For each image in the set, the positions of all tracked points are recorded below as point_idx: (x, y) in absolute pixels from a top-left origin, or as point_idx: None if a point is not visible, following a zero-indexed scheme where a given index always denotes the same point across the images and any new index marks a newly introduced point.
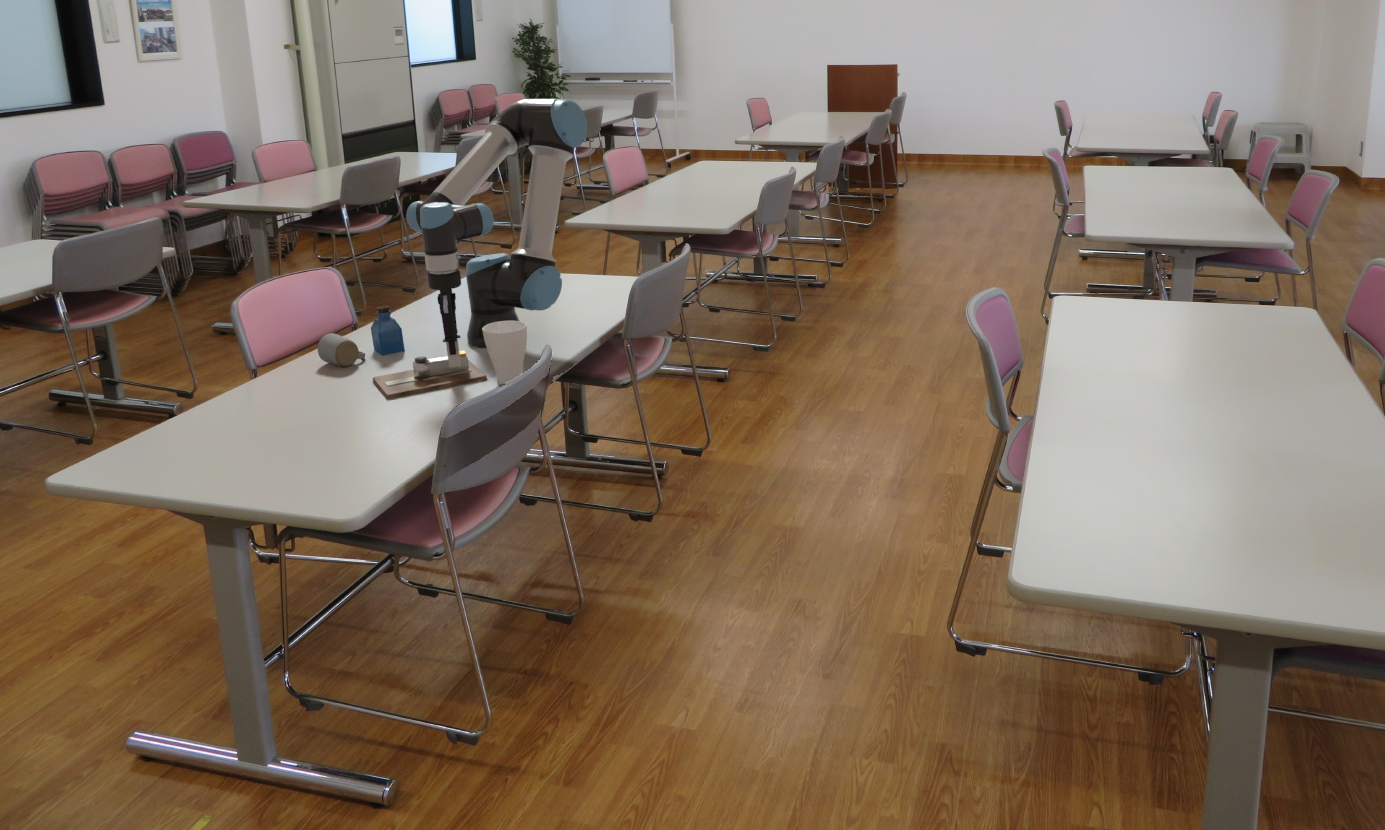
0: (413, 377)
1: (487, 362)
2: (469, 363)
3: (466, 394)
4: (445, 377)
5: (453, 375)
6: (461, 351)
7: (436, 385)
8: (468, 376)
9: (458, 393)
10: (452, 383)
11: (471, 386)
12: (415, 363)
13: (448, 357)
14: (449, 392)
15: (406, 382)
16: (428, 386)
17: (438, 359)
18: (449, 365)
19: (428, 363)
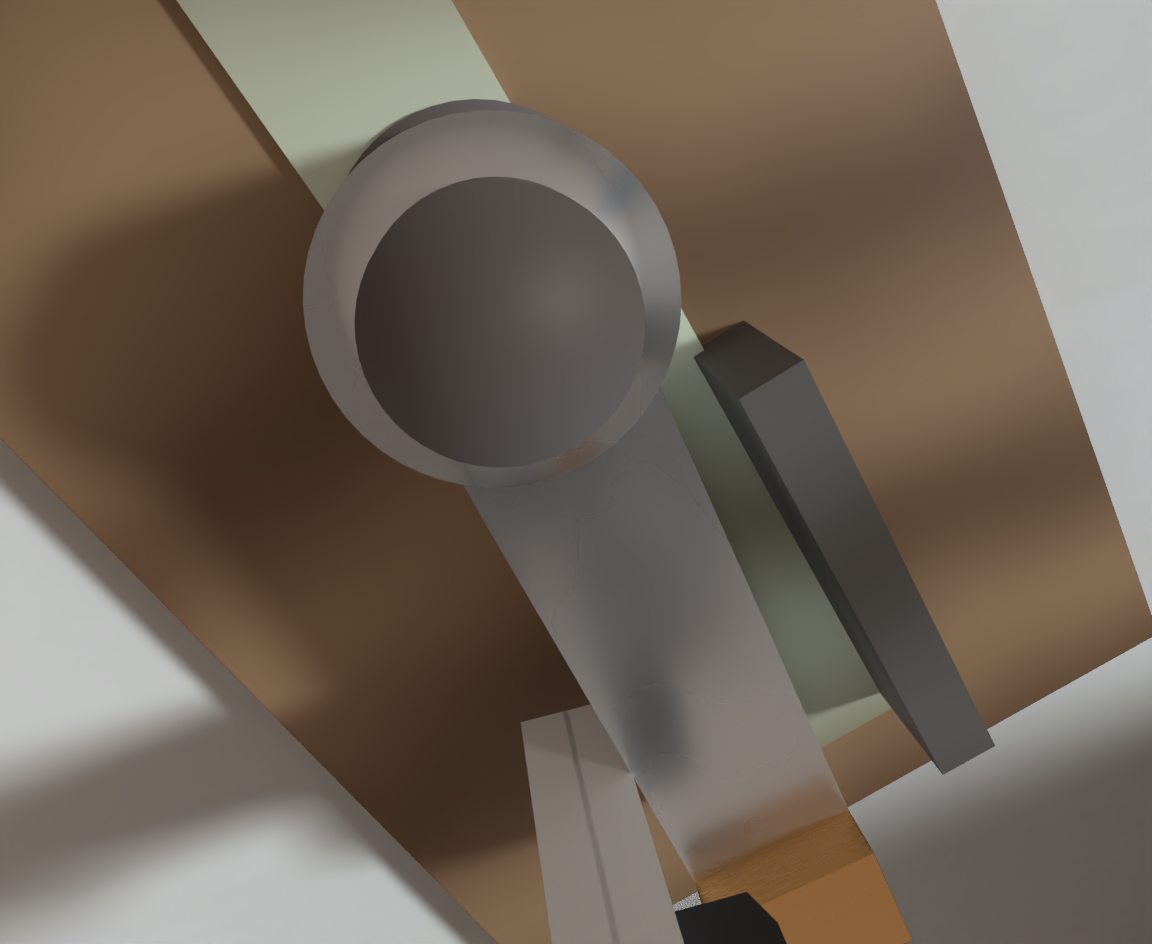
0: (446, 94)
1: (1086, 783)
2: (995, 698)
3: (23, 911)
4: (480, 586)
5: (555, 661)
6: (872, 921)
7: (135, 570)
8: (508, 832)
9: (41, 827)
10: (286, 717)
11: (303, 875)
12: (381, 213)
13: (544, 855)
14: (58, 725)
15: (200, 25)
16: (63, 475)
17: (637, 613)
18: (527, 749)
19: (457, 474)
